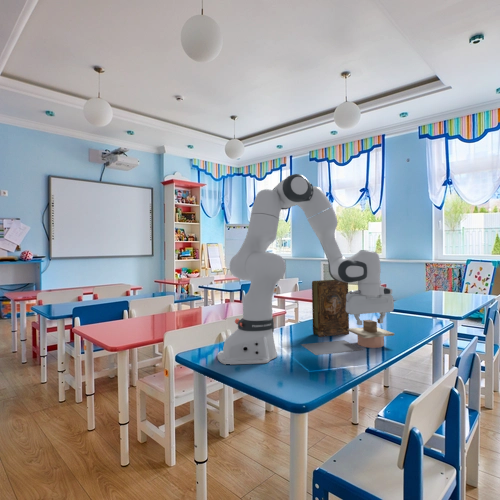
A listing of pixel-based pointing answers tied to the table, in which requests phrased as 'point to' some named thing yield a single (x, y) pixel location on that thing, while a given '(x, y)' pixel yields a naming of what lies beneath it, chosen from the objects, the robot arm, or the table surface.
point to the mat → (331, 347)
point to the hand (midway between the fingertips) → (370, 324)
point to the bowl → (371, 342)
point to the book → (329, 308)
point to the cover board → (369, 335)
